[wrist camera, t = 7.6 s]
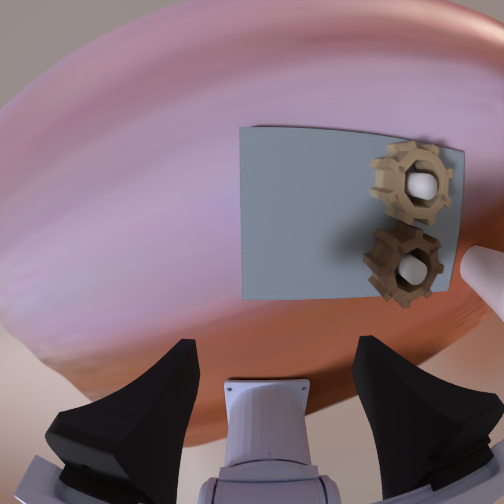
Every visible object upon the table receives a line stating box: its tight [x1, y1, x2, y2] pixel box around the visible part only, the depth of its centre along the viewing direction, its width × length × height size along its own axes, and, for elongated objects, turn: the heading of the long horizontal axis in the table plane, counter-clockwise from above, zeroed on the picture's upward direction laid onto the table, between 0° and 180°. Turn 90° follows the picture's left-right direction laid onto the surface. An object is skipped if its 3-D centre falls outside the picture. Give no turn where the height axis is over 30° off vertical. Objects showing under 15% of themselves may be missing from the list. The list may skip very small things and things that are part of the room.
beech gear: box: [369, 141, 454, 226], centre depth 16 cm, size 5×5×3 cm
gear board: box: [239, 127, 464, 300], centre depth 17 cm, size 12×18×5 cm, turn 90°
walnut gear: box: [363, 221, 444, 308], centre depth 17 cm, size 5×5×3 cm
